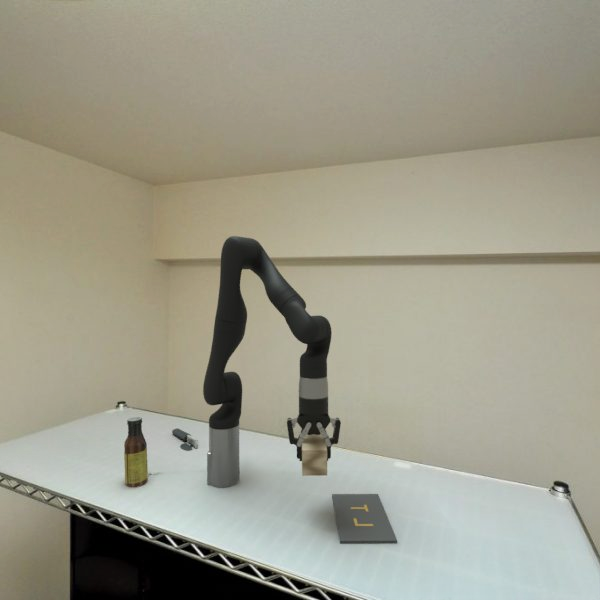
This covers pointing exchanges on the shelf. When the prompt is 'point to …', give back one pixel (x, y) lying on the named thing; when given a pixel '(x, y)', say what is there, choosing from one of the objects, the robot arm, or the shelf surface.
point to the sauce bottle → (135, 454)
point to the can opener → (186, 440)
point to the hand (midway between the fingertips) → (313, 459)
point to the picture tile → (362, 519)
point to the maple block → (314, 456)
